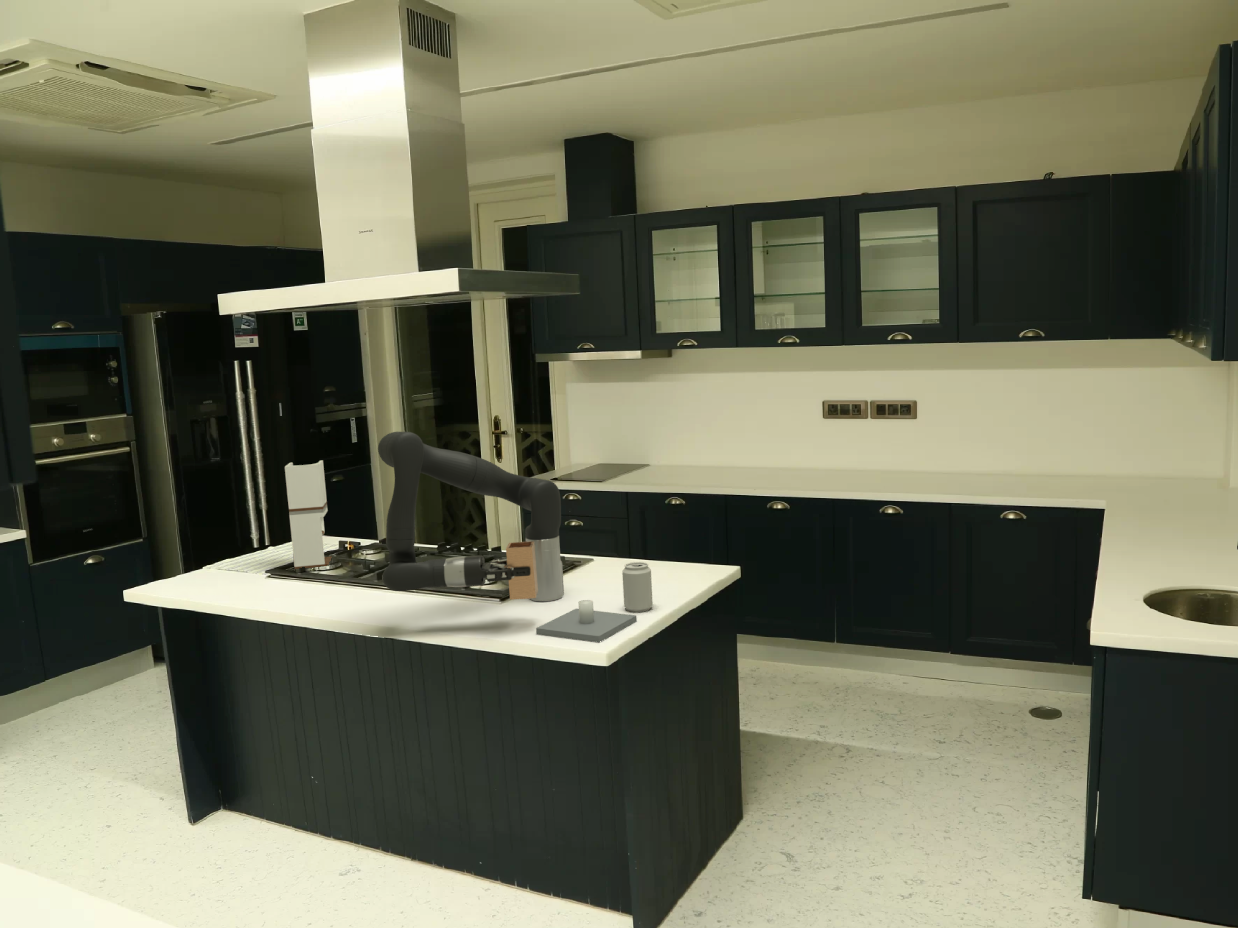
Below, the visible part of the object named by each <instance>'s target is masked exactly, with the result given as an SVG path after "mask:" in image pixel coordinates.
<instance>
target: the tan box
mask: <svg viewBox="0 0 1238 928" xmlns="http://www.w3.org/2000/svg"><path fill="white" fill-rule="evenodd" d="M505 553H506V554H505V555H506V558H507V567H514V569H515V567H530V575H529V576H517V577H514V578H512V579H511V580H508V588H509V590H508V591H509V592H508V593H509V599H510V600H525V599H526V600H527V599H529V600H530V598H536V596H537V593H538V584H537V571H536V557H535V544H534V541H529V542H526V541H516V542H514V541H513V542H508V544H507V546H506V548H505Z"/></svg>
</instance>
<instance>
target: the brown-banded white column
mask: <svg viewBox="0 0 1238 928" xmlns="http://www.w3.org/2000/svg"><path fill="white" fill-rule="evenodd" d="M324 469H325V468H324V460H319V461H318V462H316V463H312V464H303V465H302V464H299V465H294V463H293V462H289V463H287V464H286V465H285V466H284V472H285V473H284V475H285V483H286V484H285V485H286V495H287V502H288V512H289V513H288V514H289V515H288V516H289V525H290V535H291V536H290V537H291V543H292V555H293V566H294V570H295V569H299V568H302V567H305V568H314V567H320V566H327V565H329V562H330V561H331V558H332V559H333V557H332V556H325V552H324V539H323V536H324V535H325V533H326V532H325V521H324V517H325V516H326V514H327V513H328V511H329V510H328V501H327V489H326V480H325V479H326V478H325V470H324Z"/></svg>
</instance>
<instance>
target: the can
mask: <svg viewBox="0 0 1238 928" xmlns="http://www.w3.org/2000/svg"><path fill="white" fill-rule="evenodd" d="M621 574H622V590H623V591H622V593H623V607H624V608H625V609H626V610H627V611H628V612H632V613H641V612H642V613H643V612H647V611H649V610H650V609H651V608H652V607H653V603H654V602H653V589H652V587H653V586H652V584H653V583H652V570H651V568H650V567H649V563H647V562H643V561H633V562H629V563H625V564H624V568H623V569H622V573H621Z"/></svg>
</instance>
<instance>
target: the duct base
mask: <svg viewBox="0 0 1238 928" xmlns="http://www.w3.org/2000/svg"><path fill="white" fill-rule="evenodd" d="M636 622H637V615H635V614H629V613H628V614H627V613H619V612H618V613H617V612H611V611H610V612H608V611H601V610H594V601H593V600H590V599H585V600H579V601H578V608H574V609H572V610H570V611H568V612H566V613H564V614H562V615H560V616H558V617H556V618H554V619H552V620H550V621H548V622H546V623H544V624H541V625H540V626H537V627H536V628H535V631H536V632H535V634H536V635H540V636H546V637H547V636H549V637H554V636H555V637H557V638H562V637H564V639H569V638H572V639H571V640H577V639H582V640H581V641H585V640H589V641H588V642H592V641H597V642H596V643H601V642H602V640H603V641H605V640H606V639H609V638H610V637H611V635H612V636H613V635H615V634H616V633H618V631H619V632H620V631H622V630H624V629H626V628H627V627H630V626H631V625H633V624H634V623H636ZM609 636H610V637H609ZM555 637H554V638H555ZM604 639H605V640H604ZM600 641H601V642H600Z"/></svg>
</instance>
